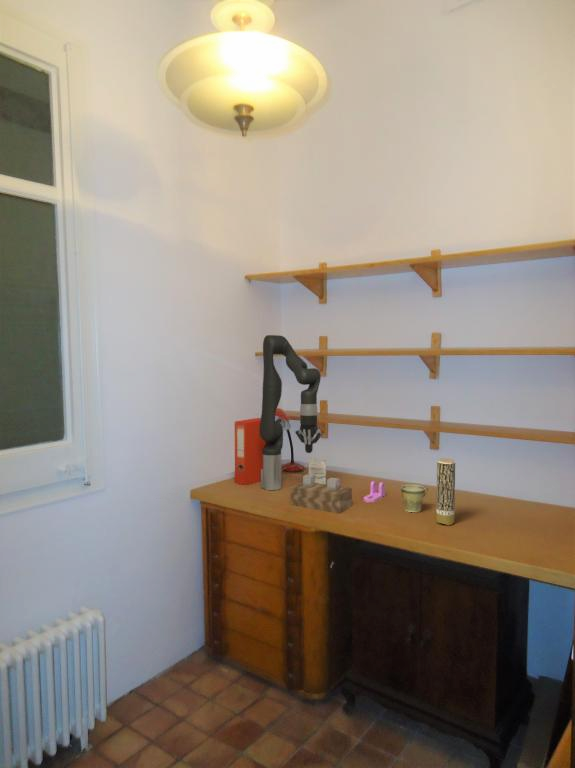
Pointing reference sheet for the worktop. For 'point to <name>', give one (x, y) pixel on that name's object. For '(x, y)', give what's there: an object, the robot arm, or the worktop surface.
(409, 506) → the ceramic cup
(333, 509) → the walnut block
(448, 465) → the paper tube
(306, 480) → the steel peg
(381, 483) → the bracket
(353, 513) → the worktop surface
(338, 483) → the steel peg
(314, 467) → the ink cartridge box
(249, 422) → the file binder
